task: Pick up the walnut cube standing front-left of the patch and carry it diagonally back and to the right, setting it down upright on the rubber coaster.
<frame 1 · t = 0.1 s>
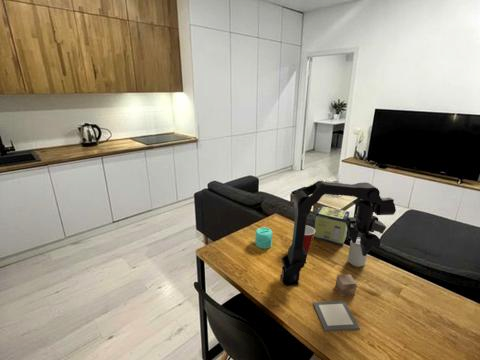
hand: (358, 249, 107), 14 cm above the table, fingers open, 9 cm apart
plastic cup: (302, 249, 132), on the table
cube: (344, 290, 105), on the table
protein box: (329, 238, 142), on the table
turquoise cylinder: (263, 244, 136), on the table
coaster: (335, 315, 93), on the table
can: (356, 263, 121), on the table
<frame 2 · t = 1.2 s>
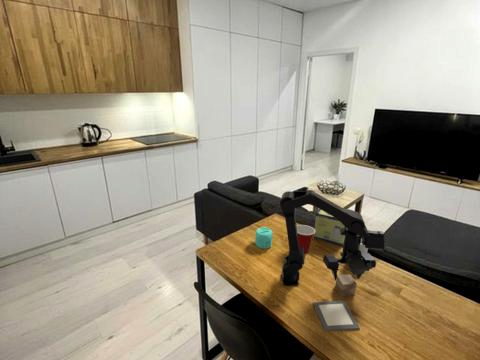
hand: (346, 279, 103), 5 cm above the table, fingers open, 9 cm apart
nothing on the table moved.
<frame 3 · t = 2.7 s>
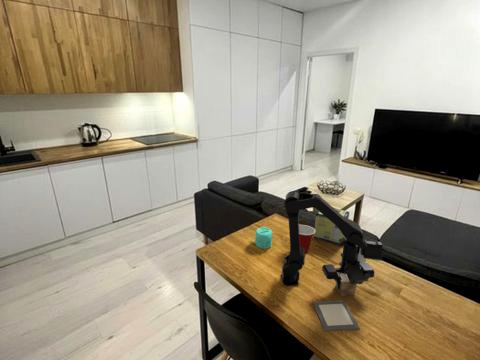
hand: (345, 288, 104), 1 cm above the table, fingers closed on cube, 5 cm apart
cube: (344, 290, 105), on the table, touching gripper
everything else where it was.
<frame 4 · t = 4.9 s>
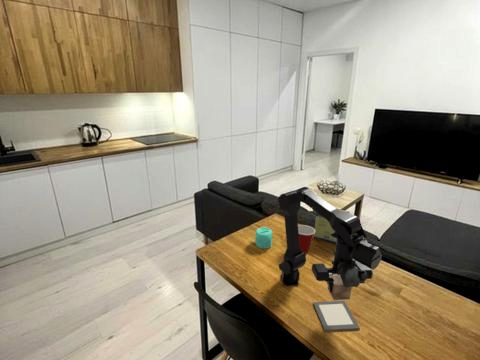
hand: (338, 291, 89), 11 cm above the table, fingers closed on cube, 5 cm apart
cube: (338, 293, 90), point 10 cm above the table, touching gripper
everything else where it was.
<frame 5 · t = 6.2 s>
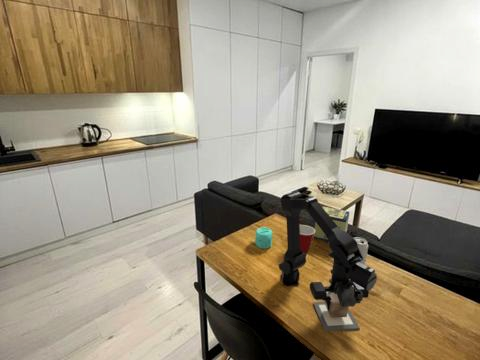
hand: (335, 308, 92), 3 cm above the table, fingers closed on cube, 5 cm apart
cube: (335, 311, 92), point 2 cm above the table, touching gripper
everything else where it was.
when the fingers open (3 cm above the table, at t = 7.1 s): cube drops 1 cm, resting on coaster.
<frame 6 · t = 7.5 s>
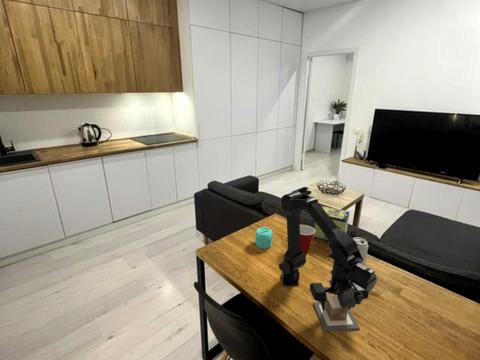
hand: (335, 309, 92), 3 cm above the table, fingers open, 9 cm apart
cube: (335, 314, 93), point 1 cm above the table, touching coaster
everything else where it was.
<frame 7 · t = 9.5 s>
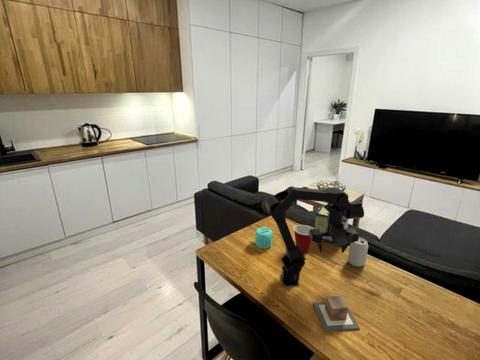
hand: (331, 252, 108), 12 cm above the table, fingers open, 9 cm apart
nothing on the table moved.
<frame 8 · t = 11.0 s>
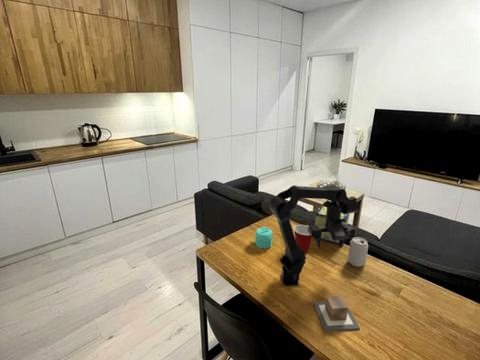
hand: (329, 247, 112), 12 cm above the table, fingers open, 9 cm apart
nothing on the table moved.
at the end: cube inside the target area on the coaster (0.0 cm from its centre), point 0.7 cm above the coaster's base; cube tilted 0°; the gripper is holding nothing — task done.
